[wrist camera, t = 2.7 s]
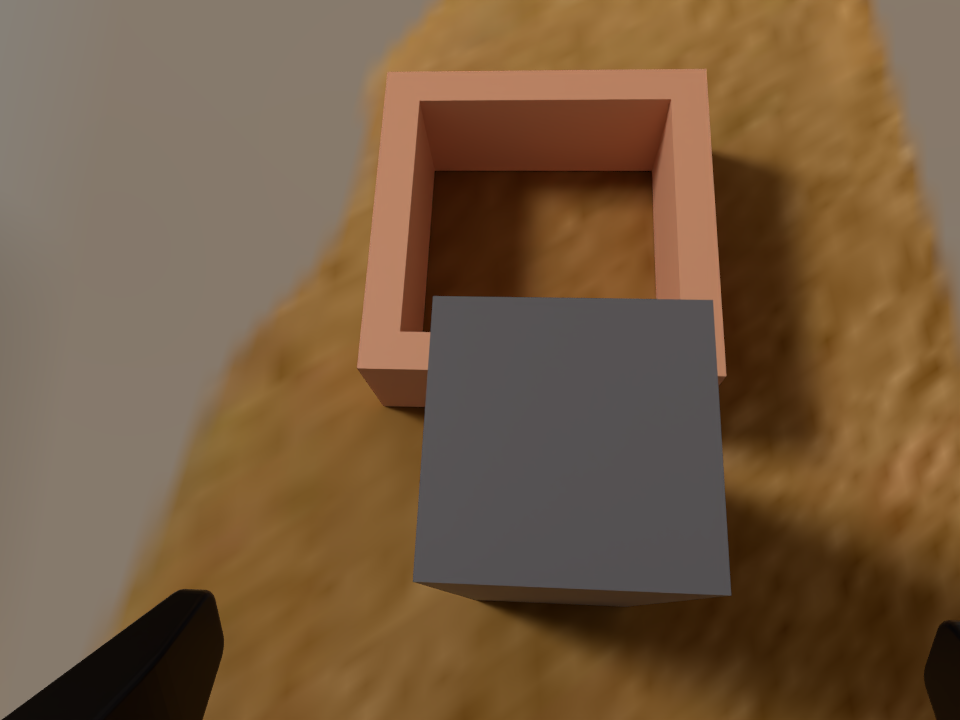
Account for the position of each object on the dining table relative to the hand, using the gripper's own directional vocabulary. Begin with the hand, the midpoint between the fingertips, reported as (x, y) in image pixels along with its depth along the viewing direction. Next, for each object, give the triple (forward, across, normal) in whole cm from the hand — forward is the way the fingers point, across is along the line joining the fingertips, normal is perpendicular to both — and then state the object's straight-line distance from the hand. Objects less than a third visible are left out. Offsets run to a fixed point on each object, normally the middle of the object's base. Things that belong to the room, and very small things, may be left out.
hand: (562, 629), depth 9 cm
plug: (+10, 0, +6) cm, 11 cm away
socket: (+15, 0, 0) cm, 15 cm away
